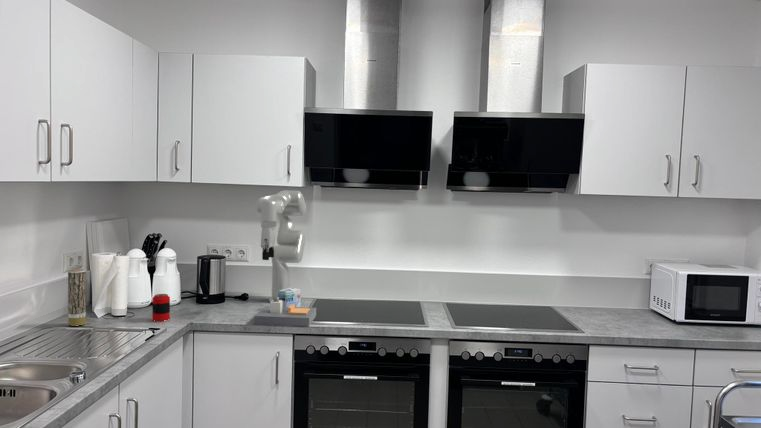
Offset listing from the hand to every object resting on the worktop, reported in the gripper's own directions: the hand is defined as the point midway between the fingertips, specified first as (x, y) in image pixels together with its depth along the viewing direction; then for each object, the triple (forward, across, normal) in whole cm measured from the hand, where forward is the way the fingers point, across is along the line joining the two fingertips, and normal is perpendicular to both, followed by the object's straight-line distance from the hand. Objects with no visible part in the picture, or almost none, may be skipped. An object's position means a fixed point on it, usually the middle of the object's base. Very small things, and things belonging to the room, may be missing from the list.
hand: (268, 258), depth 261 cm
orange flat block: (+24, +10, +18) cm, 32 cm away
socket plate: (+28, +10, +12) cm, 32 cm away
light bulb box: (+29, -10, +9) cm, 32 cm away
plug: (+28, +10, +7) cm, 31 cm away
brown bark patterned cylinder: (+28, +33, -78) cm, 89 cm away
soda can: (+28, +19, -46) cm, 57 cm away
